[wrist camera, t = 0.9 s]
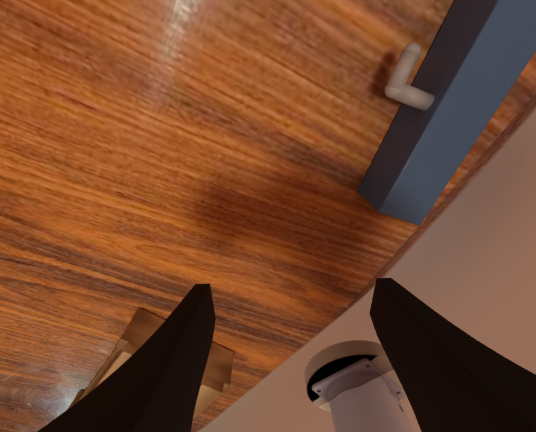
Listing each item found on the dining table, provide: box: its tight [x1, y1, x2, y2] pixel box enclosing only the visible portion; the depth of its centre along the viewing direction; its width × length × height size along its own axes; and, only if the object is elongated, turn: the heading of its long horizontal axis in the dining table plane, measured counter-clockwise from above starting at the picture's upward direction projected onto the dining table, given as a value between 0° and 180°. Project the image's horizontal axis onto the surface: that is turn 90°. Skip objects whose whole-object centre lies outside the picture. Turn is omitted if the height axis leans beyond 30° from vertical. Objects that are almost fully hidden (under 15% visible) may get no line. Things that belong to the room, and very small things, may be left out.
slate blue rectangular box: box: [358, 0, 536, 225], centre depth 13 cm, size 5×12×4 cm, turn 162°
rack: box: [68, 308, 234, 419], centre depth 24 cm, size 10×16×4 cm, turn 143°
